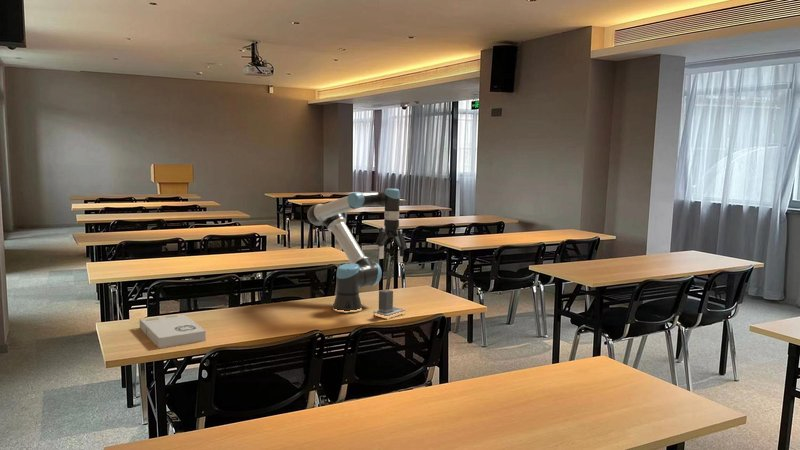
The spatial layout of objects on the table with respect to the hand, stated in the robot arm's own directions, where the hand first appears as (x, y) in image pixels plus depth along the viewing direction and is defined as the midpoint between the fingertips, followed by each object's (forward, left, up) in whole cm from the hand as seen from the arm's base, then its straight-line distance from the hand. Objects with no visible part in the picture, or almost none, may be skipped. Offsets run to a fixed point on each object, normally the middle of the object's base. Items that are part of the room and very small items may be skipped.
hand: (390, 260), depth 296 cm
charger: (+4, -8, -26) cm, 27 cm away
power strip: (+4, -5, -27) cm, 28 cm away
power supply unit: (-42, -96, -28) cm, 108 cm away
